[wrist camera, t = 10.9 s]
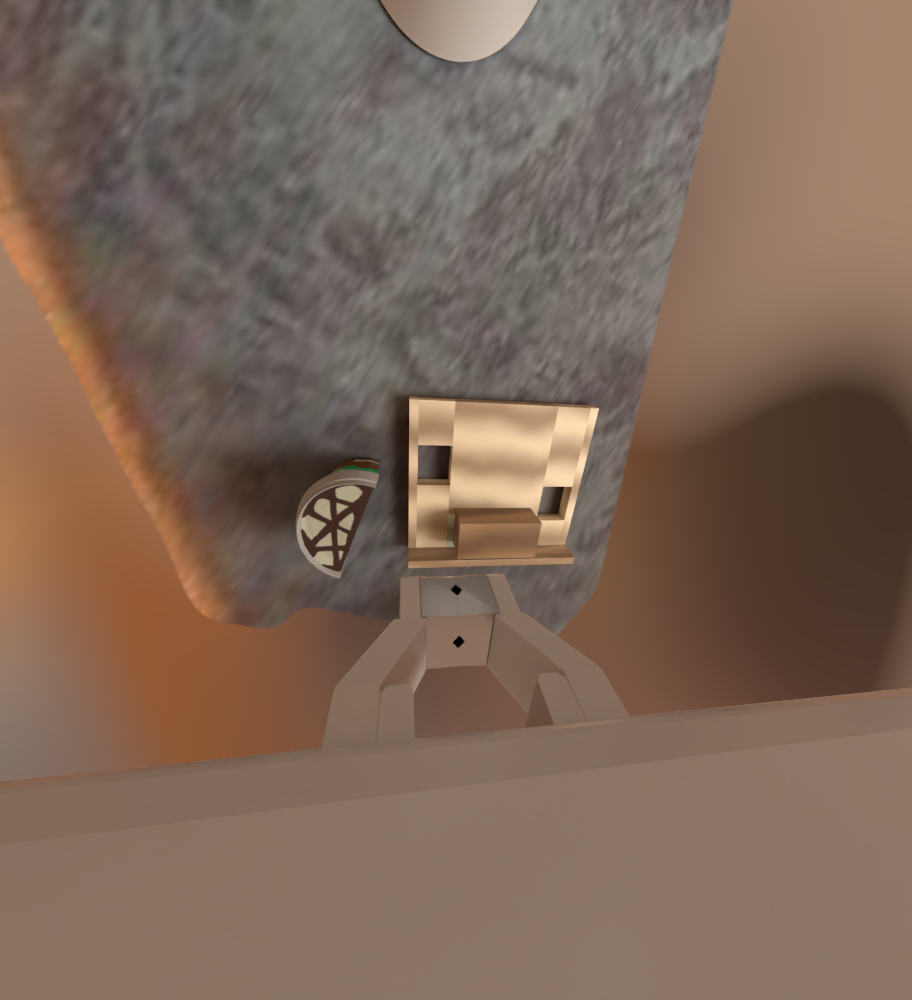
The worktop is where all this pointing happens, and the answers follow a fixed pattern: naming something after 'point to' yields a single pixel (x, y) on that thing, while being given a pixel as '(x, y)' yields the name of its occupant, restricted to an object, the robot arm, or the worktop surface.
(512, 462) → the wooden frame
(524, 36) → the worktop surface
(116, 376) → the worktop surface
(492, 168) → the worktop surface
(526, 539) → the block
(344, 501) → the food container
